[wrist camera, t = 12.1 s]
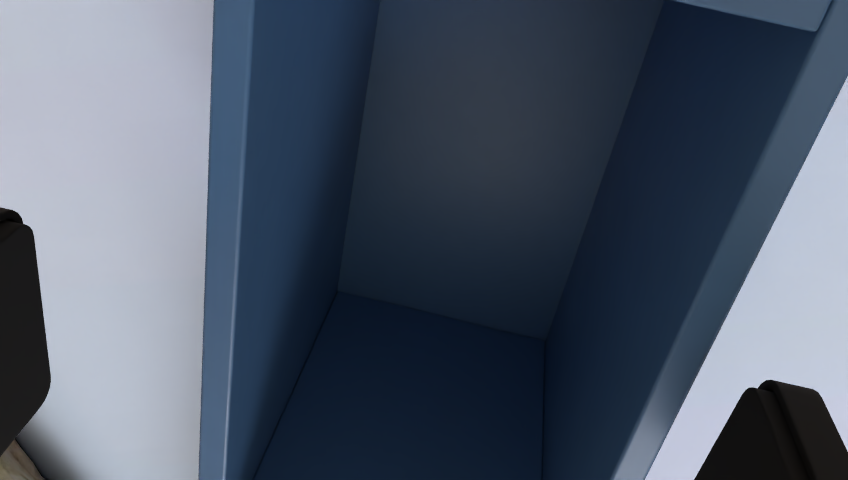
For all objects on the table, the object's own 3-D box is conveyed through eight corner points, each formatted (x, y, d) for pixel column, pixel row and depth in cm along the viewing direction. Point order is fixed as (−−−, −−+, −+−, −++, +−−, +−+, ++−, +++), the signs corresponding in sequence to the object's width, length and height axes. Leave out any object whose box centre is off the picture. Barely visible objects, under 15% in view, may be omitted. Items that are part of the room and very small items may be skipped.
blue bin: (386, -174, 15) (216, -153, 8) (719, -101, 15) (890, -4, 7) (323, 289, 22) (194, 556, 14) (558, 347, 21) (559, 651, 14)
